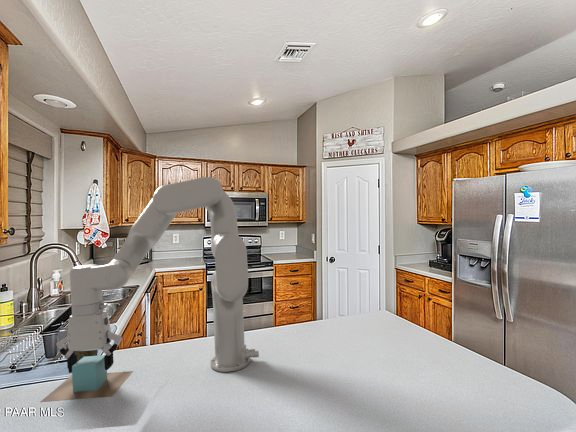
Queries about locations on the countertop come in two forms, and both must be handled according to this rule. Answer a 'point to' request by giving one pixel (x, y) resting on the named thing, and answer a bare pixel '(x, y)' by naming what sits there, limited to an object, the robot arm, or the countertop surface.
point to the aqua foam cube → (89, 373)
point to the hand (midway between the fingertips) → (91, 369)
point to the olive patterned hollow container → (85, 354)
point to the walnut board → (104, 390)
